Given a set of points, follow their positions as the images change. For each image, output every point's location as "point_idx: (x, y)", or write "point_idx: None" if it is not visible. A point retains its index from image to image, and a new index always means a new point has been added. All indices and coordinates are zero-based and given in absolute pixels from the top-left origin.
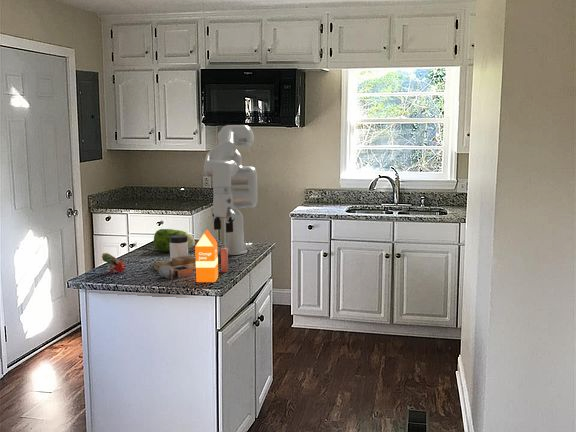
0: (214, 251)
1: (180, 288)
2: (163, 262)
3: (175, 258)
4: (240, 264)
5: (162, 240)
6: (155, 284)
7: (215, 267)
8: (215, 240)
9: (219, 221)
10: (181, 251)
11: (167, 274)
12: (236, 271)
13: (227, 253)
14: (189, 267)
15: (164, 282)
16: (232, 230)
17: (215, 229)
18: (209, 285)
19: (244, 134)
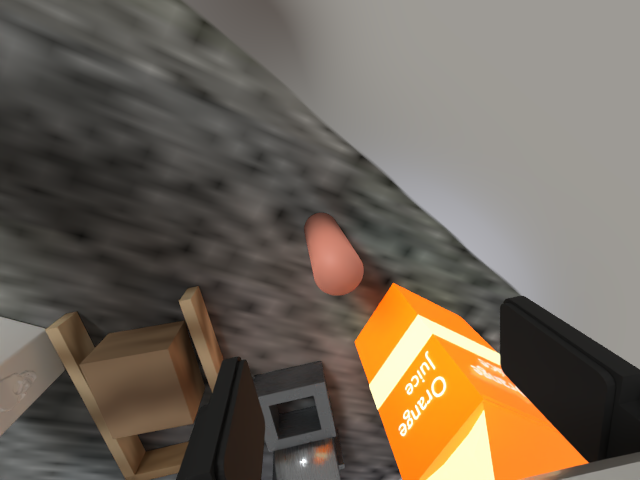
0: None
1: None
2: (121, 452)
3: (131, 427)
4: (207, 94)
5: None
6: (371, 476)
7: (473, 339)
8: (487, 421)
9: (234, 469)
10: (11, 400)
11: (337, 460)
12: (350, 180)
13: (350, 244)
14: (298, 389)
15: (363, 453)
16: (531, 309)
17: (264, 420)
18: (489, 344)
19: None
